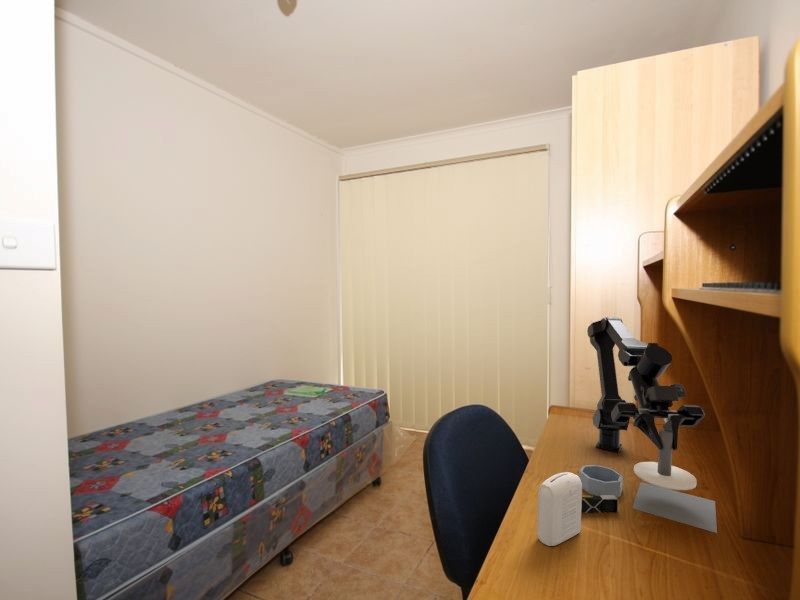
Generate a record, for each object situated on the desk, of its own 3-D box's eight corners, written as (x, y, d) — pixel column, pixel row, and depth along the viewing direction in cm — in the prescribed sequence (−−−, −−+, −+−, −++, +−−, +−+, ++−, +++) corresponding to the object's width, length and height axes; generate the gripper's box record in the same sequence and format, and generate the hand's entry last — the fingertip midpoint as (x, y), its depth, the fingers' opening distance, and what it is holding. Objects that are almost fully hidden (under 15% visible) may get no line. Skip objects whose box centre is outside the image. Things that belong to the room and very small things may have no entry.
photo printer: (565, 522, 87) (566, 464, 86) (584, 532, 83) (585, 472, 82) (533, 538, 81) (535, 477, 80) (552, 550, 77) (553, 486, 77)
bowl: (584, 477, 107) (585, 462, 106) (623, 487, 101) (624, 471, 101) (576, 491, 99) (576, 475, 99) (617, 503, 94) (618, 486, 94)
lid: (639, 460, 102) (640, 419, 101) (698, 475, 94) (700, 430, 94) (628, 478, 93) (630, 432, 92) (693, 496, 85) (696, 447, 84)
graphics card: (565, 517, 89) (568, 499, 88) (560, 508, 92) (563, 490, 90) (617, 516, 90) (621, 498, 88) (611, 507, 92) (615, 489, 91)
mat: (640, 483, 103) (640, 481, 103) (714, 502, 95) (715, 501, 95) (632, 509, 91) (632, 507, 91) (717, 534, 82) (717, 532, 82)
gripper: (617, 368, 97) (636, 431, 87) (702, 371, 95) (732, 436, 85) (604, 392, 105) (620, 452, 95) (681, 395, 103) (707, 457, 93)
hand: (668, 449), depth 92 cm, fingers closed on lid, 3 cm apart
